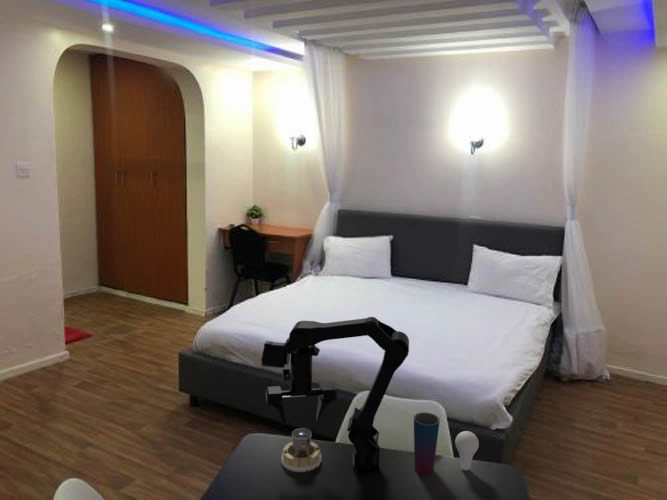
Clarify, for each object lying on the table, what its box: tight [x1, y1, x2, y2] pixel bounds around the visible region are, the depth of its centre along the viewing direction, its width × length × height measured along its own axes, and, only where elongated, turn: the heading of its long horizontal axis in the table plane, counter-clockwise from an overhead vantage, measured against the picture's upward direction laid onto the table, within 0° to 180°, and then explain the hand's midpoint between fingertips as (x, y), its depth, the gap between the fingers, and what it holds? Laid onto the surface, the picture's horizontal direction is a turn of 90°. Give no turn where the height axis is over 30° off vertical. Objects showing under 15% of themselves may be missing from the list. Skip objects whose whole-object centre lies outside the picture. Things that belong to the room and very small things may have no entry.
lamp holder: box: [280, 441, 322, 473], centre depth 153 cm, size 11×11×4 cm
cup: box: [413, 411, 441, 476], centre depth 149 cm, size 7×7×15 cm
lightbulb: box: [454, 430, 480, 471], centre depth 149 cm, size 6×6×11 cm
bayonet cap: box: [291, 427, 313, 458], centre depth 153 cm, size 6×5×7 cm
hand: (300, 422), depth 151 cm, fingers open, 9 cm apart
